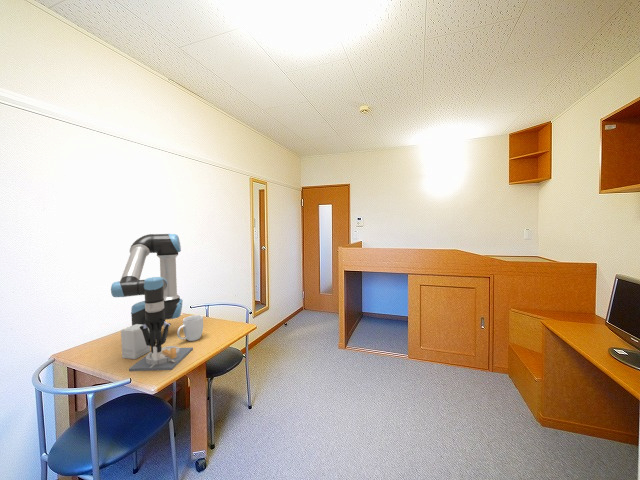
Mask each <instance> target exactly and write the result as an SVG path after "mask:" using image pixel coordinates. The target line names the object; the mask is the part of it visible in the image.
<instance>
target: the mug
mask: <svg viewBox="0 0 640 480" xmlns="http://www.w3.org/2000/svg"><path fill="white" fill-rule="evenodd" d="M203 316H204V315H202V314H201V315H200V314H194V315H189V316H186V317H184V318H183V319H182V325H180V326H179V327H178V328H177V332H176V334H177V338H179V339H180V340H187V342H195V341H198V340H199V339H200V338H201V337H202V334H203V330H204V317H203ZM182 328H183V329H182ZM181 329H182V331H183V335H184V337H181V335H180V331H181Z"/></svg>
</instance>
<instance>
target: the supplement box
mask: <svg viewBox="0 0 640 480" xmlns="http://www.w3.org/2000/svg"><path fill="white" fill-rule="evenodd" d="M140 326H142V324H135V325H133V326H132V325H130V326H128V327H124V328H122V329H121V330H120V338H121V339H120V340H121V355H122V359H131V360H136V359H138V358H140V357H142V356H144V355H147V354H149V353H150V352H151V346H149V345H148V346H147V345H146V342H145V339H144V336H143V332H142V330H141V329H140ZM147 328H148V327H147ZM148 331H149V328H148Z"/></svg>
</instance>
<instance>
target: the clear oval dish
mask: <svg viewBox="0 0 640 480" xmlns="http://www.w3.org/2000/svg"><path fill="white" fill-rule="evenodd" d="M167 356H168V357H170V358H171V359H173V358H176V348H162V347H161V352H160V358H163V357H167ZM151 357H152V358H153V354H152V355H151Z"/></svg>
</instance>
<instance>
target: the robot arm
mask: <svg viewBox="0 0 640 480" xmlns="http://www.w3.org/2000/svg"><path fill="white" fill-rule="evenodd" d="M181 251H182V246H181V242H180V238H179V236H178V234H175V233H156V234H155V233H152V234H151V233H150V234H146V235H145V234H144V235H142V236H141V237H139V238H137V239H136V240H135V241H134V242H133V243H132V244H131V245H130V248H129V256H128V259H127V262H126V264H125V267H124V270H123V271H122V272H123V273H122V275H121V277H120V281H114V282H113V283H112V284H111V286H110V292H111V296H112V297H113V298H127V297H134V296H135V297H136V296H144V300H142V301H139V302H136V303H134V304H133V305H132V306H131V309H130V310H131V312H130V315H131V316H130V317H131V326H133V325H135V324H142V326H140V329H141V330H142V332H143V336H144V339H145V342H146V345H147V346H148V345H149V346H150V352H152V353H153V360H158V359H159V358H160V352H161V348H162V345H164V344H165V343H166V342H167V337H168V333H169V329H170V327H171V325H172V324H171V322H167V320H173V319H178V318H180V317H181V314H182V310H183V309H182V308H183V298H181V297H180V295H178V288H177V287H178V286H177V284H178V283H177V281H178V280H177V260H176V259H177V257H178V256H179V253H181ZM153 253H154V254H156V256H157V258H159V271H160V276H153V277H147V278H146V279H141V275H142V271H143V269H144V265H145V261H146V259H147V257H148V256H149V255H150V254H153ZM147 327H148V328H149V331H148V328H147Z"/></svg>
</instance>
